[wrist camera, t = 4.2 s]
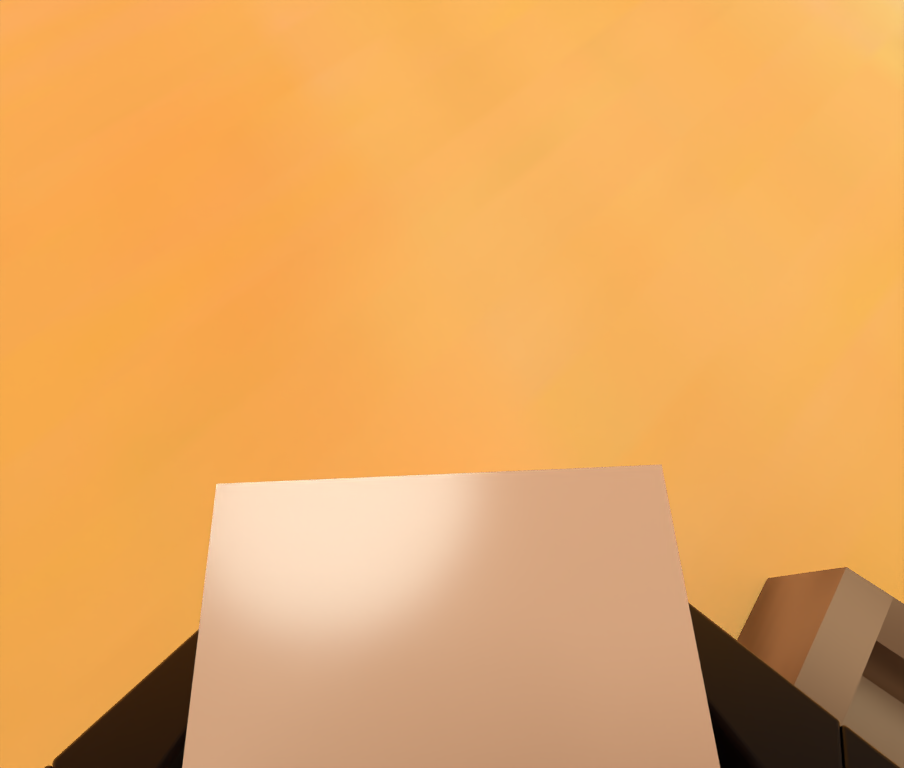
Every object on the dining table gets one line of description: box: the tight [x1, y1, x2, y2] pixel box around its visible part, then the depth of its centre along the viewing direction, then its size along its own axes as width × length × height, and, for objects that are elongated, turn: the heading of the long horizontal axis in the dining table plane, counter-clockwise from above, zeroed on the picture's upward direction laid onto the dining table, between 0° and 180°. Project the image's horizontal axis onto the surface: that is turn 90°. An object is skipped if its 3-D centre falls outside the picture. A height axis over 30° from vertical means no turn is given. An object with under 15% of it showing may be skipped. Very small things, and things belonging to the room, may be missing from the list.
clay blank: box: [182, 465, 720, 768], centre depth 9 cm, size 4×4×10 cm
